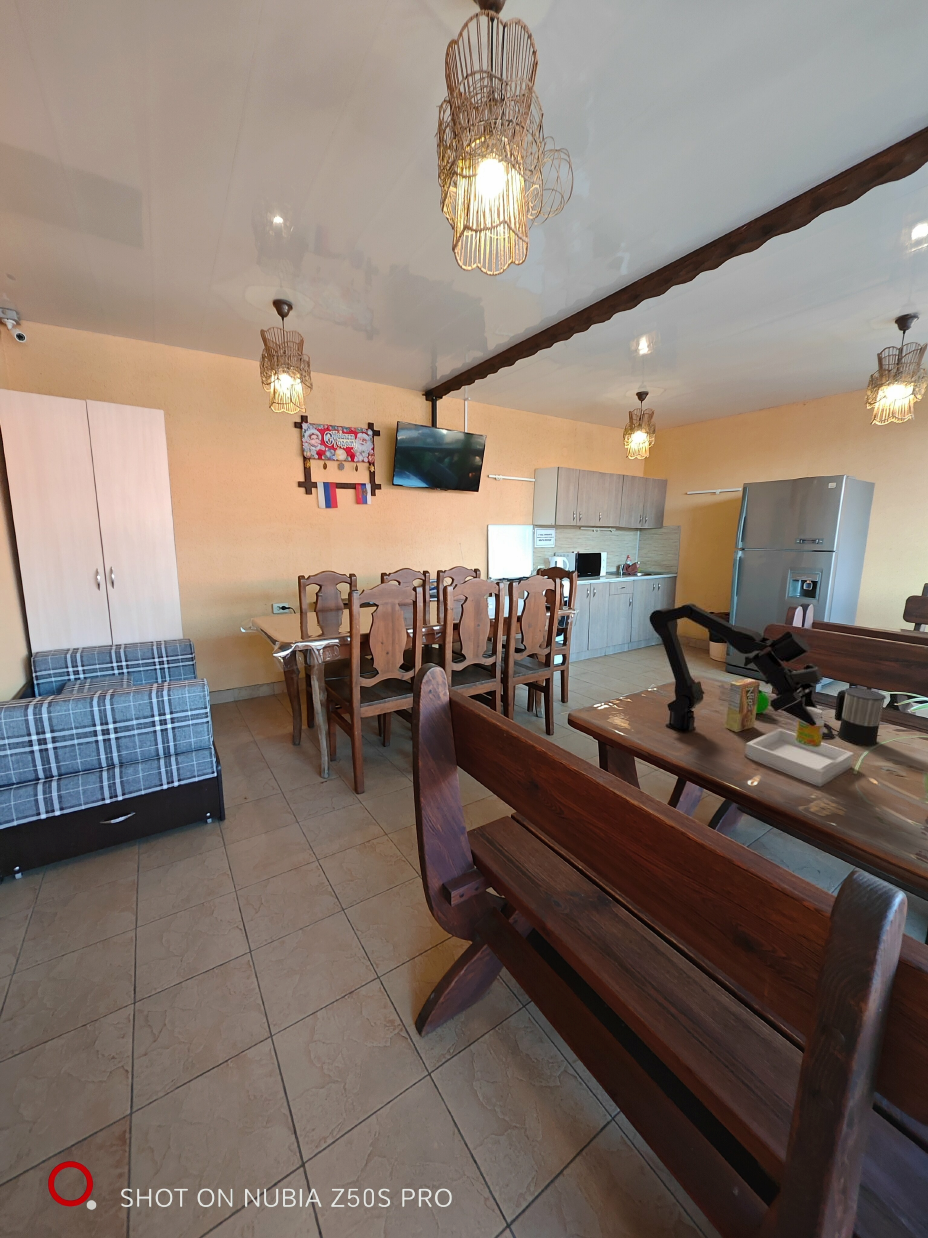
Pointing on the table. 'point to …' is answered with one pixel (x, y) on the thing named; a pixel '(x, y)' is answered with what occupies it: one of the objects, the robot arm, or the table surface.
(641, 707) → the table surface
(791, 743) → the box
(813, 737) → the supplement bottle
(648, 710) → the table surface
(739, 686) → the candy box
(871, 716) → the milk frother
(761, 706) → the ornament
